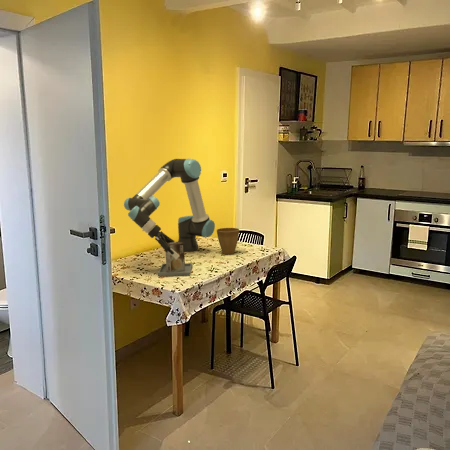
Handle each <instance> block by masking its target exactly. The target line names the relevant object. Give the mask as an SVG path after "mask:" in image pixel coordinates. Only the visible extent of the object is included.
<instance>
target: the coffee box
mask: <svg viewBox="0 0 450 450" xmlns="http://www.w3.org/2000/svg"><path fill="white" fill-rule="evenodd" d="M167 244H168V245H169V247H170V248H172V249H173V250H174V251H175V252H176V253H177V254H178V255H179V257H178V258H177V259H175V258H174V257H173V256H172V255H171V254H170V253H169V252H165V251H164V253H165V263H166V271H168V272H179V271H184V270H185V263H186V262H185V261H186V259H185V252H184V243H182V242H179V241H178V240H177V241H175V242H171V243H167Z"/></svg>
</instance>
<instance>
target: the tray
mask: <svg viewBox="0 0 450 450" xmlns="http://www.w3.org/2000/svg"><path fill="white" fill-rule="evenodd" d="M192 269H193V263H191V262H190V263H189V262H188V263H187V262H185V270H184V271H179V272H168V271H166V262H164V263H162V264H161V266H160V268H159V269H158V271H157V277H191V273H192Z"/></svg>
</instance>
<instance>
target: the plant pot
mask: <svg viewBox="0 0 450 450" xmlns="http://www.w3.org/2000/svg"><path fill="white" fill-rule="evenodd" d="M216 234H217V240H218V243H219V247H220V249H221V253H222V254H223V253H224V254H223V255H234V254H233V253H235V251H236V250H237V245H238V240H239V235H240V229H239V228H238V227H221V228H217V229H216Z"/></svg>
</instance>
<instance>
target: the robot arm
mask: <svg viewBox="0 0 450 450" xmlns="http://www.w3.org/2000/svg"><path fill="white" fill-rule="evenodd" d="M201 174H202V166H201V164H200V162H199V161H198V160H196V159H194V158H174V159H171V160H168V161H167V162H166V163H164V164H163V165H162V166H161V167H160V168H159V169H158V172H157V173H156V174H155V175H154V176H153V177H151V179H150V180H149V181H148V182H147V183H146V184H145V185H144V186H142V188H140V189H139V190H138V192H136V194H135V195H133V196H132V197H127V198H126V199H125V200H124V201H123V202H124V203H123V206H124V209H126V210H127V211H129V212H128V214H127V215H128V217H129V218H130V220H132V221H133V222H134V223H135V224H136V225H137V226H138V227H140V229H142V232H145V233H146V234H147V235H148V236H149V237H150V238H151V239H154V240H155V241H156V242H158V244H159V245H160V246H161V248H162V249H163V250H164V253H165V252H169V253H170V254H171V255H172V256H173V257H174V258H175V259H177V258H178V257H179V255H178V254H177V253H176V252H175V251H174V250H173V249H172V248H170V247H169V245H168V244H167V243H171V242H176V241H175V240H174V239H172V238H171V237H170V236H168V235H167V234H165V233H164V232H163V231H161V230H162V228H161V227H160V226H159V225H158V224H156V222H155V221H154V220H153V219H152V218H151V217H150V216H151V215H152V214H153V213H154V212H155V211H156V210H157V209H158V208H159V206H161V205H160V203H161V202H160V201H159V199H158V198H157V197H156V196H154V194H155V193H156V192H158V191H159V190H160V189H161V187H163V186H164V185H165V184H166V183H167V182H169V181H171V180H172V179H174V178H179V179H180V182H181V183H182V184H184V187H185V191H186V195H187V198H188V202H189V207H190V210H191V213H192V215H186V216H180V217H178V219H177V228H178V230H177V232H178V239H177V242H178V241H179V242H182V243H184V253H186V252H189V253H190V252H195V251H199V243H198V241H197V237H202V238H209V237H211V236H212V235H213V233H214V231H215V227H216V224H215V221H213V220H212V219H210V216H209V214H208V213H206V209H205V205H204V201H203V196H202V193H201V192H202V191H201V188H200V185H199V180H200V176H201Z"/></svg>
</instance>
